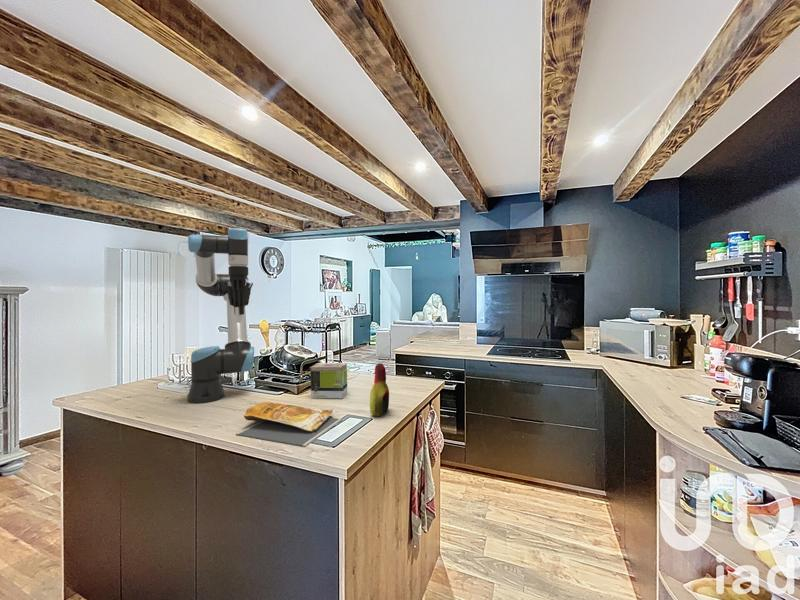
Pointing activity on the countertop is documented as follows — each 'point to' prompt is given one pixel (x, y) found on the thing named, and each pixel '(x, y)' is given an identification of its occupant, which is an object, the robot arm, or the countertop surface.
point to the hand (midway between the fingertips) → (239, 322)
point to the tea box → (329, 380)
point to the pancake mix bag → (288, 415)
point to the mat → (286, 432)
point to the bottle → (379, 392)
